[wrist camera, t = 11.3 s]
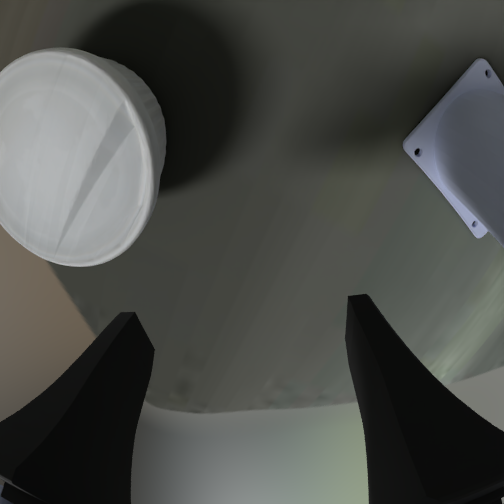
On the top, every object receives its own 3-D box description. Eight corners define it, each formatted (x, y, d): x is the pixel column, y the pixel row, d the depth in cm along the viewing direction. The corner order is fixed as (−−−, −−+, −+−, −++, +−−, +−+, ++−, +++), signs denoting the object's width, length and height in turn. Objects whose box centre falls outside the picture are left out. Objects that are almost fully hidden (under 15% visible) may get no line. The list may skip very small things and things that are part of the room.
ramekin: (182, 229, 20) (158, 284, 15) (38, 213, 19) (-4, 255, 15) (192, 41, 13) (160, 34, 9) (23, 58, 13) (-36, 71, 9)
